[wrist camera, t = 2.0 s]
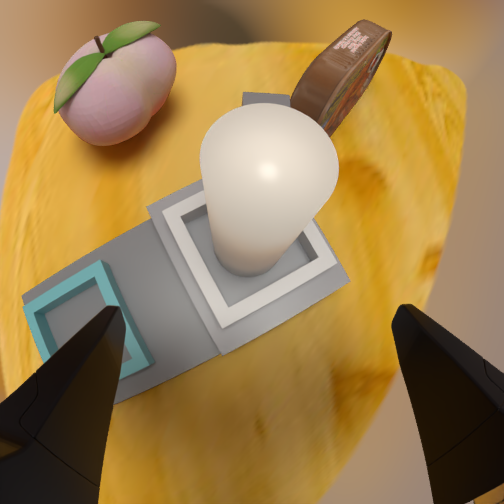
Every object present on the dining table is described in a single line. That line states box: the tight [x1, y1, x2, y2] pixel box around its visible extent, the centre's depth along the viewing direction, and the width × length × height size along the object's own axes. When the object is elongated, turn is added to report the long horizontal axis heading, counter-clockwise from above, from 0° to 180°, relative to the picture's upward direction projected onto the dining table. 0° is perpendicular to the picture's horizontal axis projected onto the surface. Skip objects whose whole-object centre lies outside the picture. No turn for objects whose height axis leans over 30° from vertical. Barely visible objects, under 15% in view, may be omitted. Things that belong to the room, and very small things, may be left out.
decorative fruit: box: [54, 21, 176, 146], centre depth 18 cm, size 9×8×10 cm
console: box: [22, 179, 350, 404], centre depth 18 cm, size 21×10×4 cm, turn 119°
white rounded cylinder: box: [200, 92, 339, 277], centre depth 13 cm, size 5×4×10 cm
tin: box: [290, 20, 392, 138], centre depth 21 cm, size 15×3×8 cm, turn 144°
